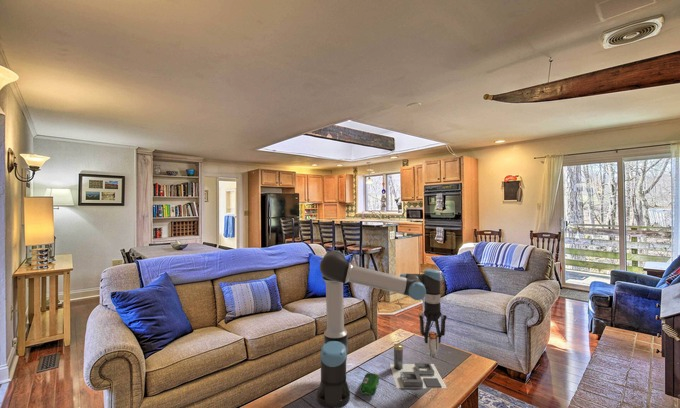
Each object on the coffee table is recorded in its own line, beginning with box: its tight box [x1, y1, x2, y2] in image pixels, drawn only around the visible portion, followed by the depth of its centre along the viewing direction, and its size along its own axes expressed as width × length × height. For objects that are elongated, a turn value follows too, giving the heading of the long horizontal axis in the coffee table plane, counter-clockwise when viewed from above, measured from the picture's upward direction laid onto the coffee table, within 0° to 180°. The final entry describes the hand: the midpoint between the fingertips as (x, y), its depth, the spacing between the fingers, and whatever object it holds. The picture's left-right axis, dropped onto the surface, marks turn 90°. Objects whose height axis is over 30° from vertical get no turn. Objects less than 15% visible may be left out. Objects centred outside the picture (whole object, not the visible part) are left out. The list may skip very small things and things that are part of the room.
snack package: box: [360, 372, 380, 396], centre depth 149 cm, size 7×16×5 cm, turn 162°
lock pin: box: [428, 331, 438, 359], centre depth 152 cm, size 4×4×11 cm
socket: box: [414, 362, 434, 375], centre depth 164 cm, size 8×8×2 cm
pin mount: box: [400, 372, 424, 389], centre depth 154 cm, size 9×9×3 cm
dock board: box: [389, 363, 448, 389], centre depth 160 cm, size 24×22×1 cm
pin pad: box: [423, 378, 443, 389], centre depth 153 cm, size 7×7×1 cm
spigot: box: [393, 343, 404, 370], centre depth 167 cm, size 5×5×12 cm
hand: (432, 349), depth 152 cm, fingers closed on lock pin, 4 cm apart
